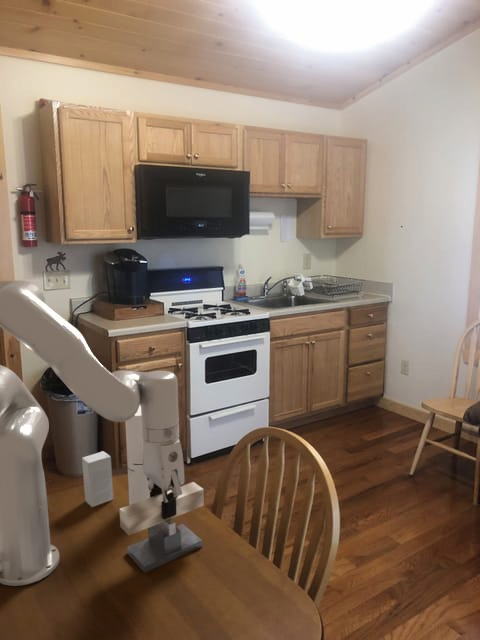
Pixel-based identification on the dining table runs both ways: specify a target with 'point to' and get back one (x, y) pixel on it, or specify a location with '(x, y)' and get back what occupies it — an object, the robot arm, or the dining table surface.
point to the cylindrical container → (136, 460)
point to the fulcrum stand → (163, 545)
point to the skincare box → (97, 478)
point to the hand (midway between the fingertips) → (163, 510)
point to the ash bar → (159, 509)
